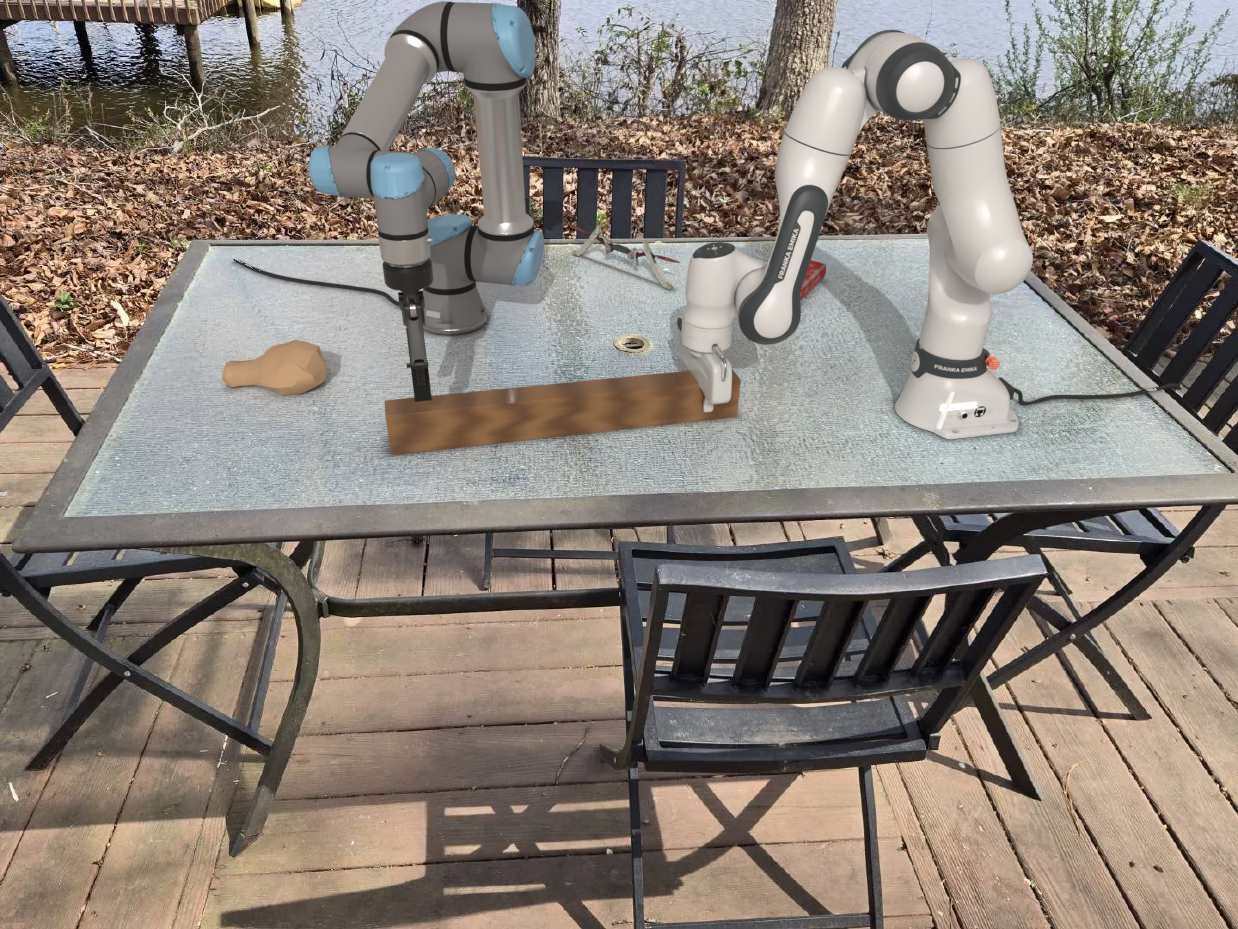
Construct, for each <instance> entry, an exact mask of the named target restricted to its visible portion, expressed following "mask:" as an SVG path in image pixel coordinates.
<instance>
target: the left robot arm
mask: <svg viewBox="0 0 1238 929" xmlns="http://www.w3.org/2000/svg"><path fill="white" fill-rule="evenodd" d="M531 24H532V23H531V21H530V19H529V18H528V16H527V13H526V12H525V11H524V10H523V9H522V8H520V7H519V6H516V5H509V4H502V3H500V2H465V1H463V2H461V1H458V2H457V1H455V2H454V1H448V0H447V1H445V0H444V1H443V0H442V1H437V2H433V3H430V4H427V5H425V6H423V7H421V8H420V9H419V8H418V9H417V10H416V11H414V12H413V13H411V14H410V15H409V16H407V17H406V18H405V19H404V20H403V21H402V22H401V23H400V24H399V25H397V27H396V28H395V29H394V30H393V32H392V33H391V35H390V36H389V38H388V40H387V42H386V43H385V46H384V60H383V61H382V63H381V65H380V67H379V69H378V70H377V72H376V73H375V75H374V78H372V81H371V82H370V84H369V86H368V88H367V90H366V91H365V93H364V94H363V96H362V99H361V100H360V102H359V104H358V105H357V107H356V109H355V111H354V113H353V114H352V116H351V118H350V119H349V121H348V123H347V125H346V127H345V129H344V130H343V132H342V134H341V136H340V137H339V139H338V140H337V143H335V145H333V146H332V145H331V144H327V145H319V146H317V147H315V148H314V149H313V150H312V152H311V154H310V156H309V160H308V173H309V178H310V180H311V182H312V187H313V188H315V190H316V191H317V192H318V193H321V194H323V195H329V196H336V197H339V198H353V199H354V198H355V199H371V200H373V203H374V209H375V216H376V223H377V237H378V244H379V252H380V253H379V254H380V258H381V260H382V261H383V262H382V272H383V273H382V274H383V280H384V285H385V286H386V287H387V288H389V289H391V290H392V291H396V292H397V291H398V292H397V296H398V300H397V299H396V300H395V299H394V298H393V297H392V296H391V295H390V294H388V293H387V292H385V291H382V290H381V289H380V290H379V289H377V288H371V287H363V286H355V285H349V284H343V283H342V284H341V283H333V282H332V283H331V282H325V281H318V280H311V279H304V278H297V277H292V276H286V275H281V274H277V273H274V272H269V271H267V270H263V269H261V268H257V267H256V266H253V265H250V266H251V267H252V266H253V267H252V268H251V267H249V266H247V265H245V264H247V263H246V262H244V261H242V260H240V261H241V262H243V263H241V262H239V261H237V260H235V259H234V258H233V259H232V260H233V262H235V263H237V264H238V265H240V266H242V267H244V268H246V269H248V270H251V271H253V272H255V273H258V274H261V275H263V276H266V277H271V278H274V279H279V280H282V281H289V282H294V283H299V284H306V285H307V284H308V285H312V286H313V285H315V286H321V287H328V288H335V289H336V288H337V289H343V290H344V289H345V290H352V291H358V292H359V291H360V292H366V293H372V294H376V295H380V296H383V297H385V298H386V299H387V300H388V301H389V302H390V303H392V304H393V305H395V306H398V307H399V310H400V311H401V317H402V325H403V326H404V327H405V332H406V340H407V347H408V348H407V349H408V354H409V355H408V356H409V362H406V363H405V364H406V369H410V374H411V380H412V390H413V398H414V399H415V402H420V401H430V400H432V397H431V396H432V390H431V388H432V387H431V380H430V371H429V361H428V358H427V349H426V339H425V332H427V333H430V334H433V335H440V336H459V335H465V334H469V333H473V332H476V331H477V330H480V329H481V328H483V327H484V326H485V325H486V323H487V320H488V316H487V310H486V306H485V304H484V302H483V299H482V298H481V295H480V293H479V291H478V288H477V283H486V284H495V285H505V286H511V287H517V286H519V287H528V286H531V285H533V284H534V283H535V281H536V280H537V278H538V275H539V273H540V270H541V266H542V262H543V258H544V250H545V237H544V233H543V232H542V231H539V230H538V229H537V230H535V222H534V218H533V217H532V216H530V215H529V214H528V213H527V207H526V194H525V193H526V192H525V191H526V190H525V172H524V158H523V141H522V124H521V122H522V120H521V106H520V93H521V92H522V90H524V88H526V86H527V78H528V77H531V76H532V75H533V74H534V71H535V66H536V42H535V36H534V32H533V28H532V25H531ZM442 72H443V73H444V72H451V73H461V74H462V75H463V85H464V87H465V88H466V89H467V90H468V91H469V92H470V94H472V95H473V105H474V117H475V118H474V119H475V126H476V127H475V128H476V136H477V137H476V138H477V139H476V140H477V150H478V162H479V171H480V182H481V184H480V185H481V196H482V205H483V215H482V216H481V217H480V218H479V219H478V220H477V225H473V224H474V221H473V220H472V218H471V216H469V215H466V214H461V213H452V214H443V215H438V216H435V217H432V218H430V219H429V218H428V209H429V208H430V207H431V206H432V205H434V204H435V203H437V202H438V201H439V200H440V199H442V198H444V197H445V196H446V195H447V194H448V193H449V191H450V190H451V189H452V188H453V186H454V184H455V182H456V174H457V172H456V168H455V165H454V162H453V160H452V159H451V158H450V156H449V155H448V154H447V153H446V152H444V151H443V150H441V149H439V148H437V147H426V148H422V149H418V150H417V151H416V152H405V151H392V150H390V149H391V148H392V146H393V144H394V142H395V140H396V139H397V136H398V135H399V132H400V130H401V128H402V127H403V125H404V123H405V121H406V119H407V117H408V115H409V113H410V112H411V109H412V108H413V105H414V103H415V102H416V101H417V100H416V99H417V98H418V96H419V94H420V92H421V90H422V88H423V86H424V85H425V84H428V83H430V82H431V81H432V80H433V79H434V78H435V76H436V74H438V73H442ZM259 270H260V271H259Z"/></svg>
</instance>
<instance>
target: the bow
mask: <svg viewBox="0 0 1238 929" xmlns="http://www.w3.org/2000/svg"><path fill="white" fill-rule="evenodd" d="M567 225H568V226H569V227H571V228H573V229H575V230H577V231H579V232H581V233H583V234H585V235H586V234H587V235H589V238H588V239H587V240H586V241H584V243H583V244H581V246H580V248H578V250H577V249H575V250H572V252H571V253H572V254H573V255H574V256H577V257H578V256H579V257H583V258H585V259H588V260H591V261H594V262H596V263H599V264H601V265H605V266H607V267H610V268H613V269H615V270H619V271H621V272H623V273H626V274H629V275H632V276H635V277H637V278H640V279H642V280H645V281H648V282H651V283H654V284H657V285H659V286H662V287H663V288H665V289H667V290H671V289H673V288H674V285H673V284H671V283H670V282H669V281H668V280H667V279H666V276H665V274H664V272H663V270H662V268H661V267H660V265H659V263H658V262H657V260H656V259H659V260H662V261H665V262H669V263H676V264H681V261H679V260H677V259H674V258H670V257H667V256H663V255H660V254H654V252H653V249H652V248H651V246H650V244H649V241H648V240H647V239H645V240H643V241H642V242H643V243H642V244H643V245H642V247H643V248H637V247H636V246H635V247H633V248H629V247H628V246H625V245H622V244H619V243H614V239H608V238H607V237H606V236H604V235H602V234H601V233H602V225H601V224H598V225H596V227H595V229H594V230H593V231H592V232H589V231H588V230H586V229H584V228H581V227H580V226H577V225H574V224H570V223H567ZM597 241H598V242H600V244H602V245H603V246H604V250H603V256H608V255H609V254H610V253H614V251H615V252H619V253H621V254H624V255H627V259H628V260H630V261H633V262H632V263H633V267H638V266H640V264H639V262H640V261H639V258H640V257H641V258H642V257H646V259H647V261H648V262H649V264H650V266H651V268H652V271H653V273H654V274H655V276H656V278H657V280H658V282H659V283H658V282H656V281H653V280H650V279H647V278H645V277H643V276H642V277H641V276H640V275H637V274H633V273H631V272H628V271H626V270H623V269H620V268H618V267H615V266H612V265H609V264H607V263H603V262H601V261H598V260H595V259H593V258H590V257H587V256H584V254H585V253H587V251H588V250H589V249H590V248H591V247H592V245H593V244H595V243H596V242H597Z"/></svg>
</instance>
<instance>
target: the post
mask: <svg viewBox="0 0 1238 929" xmlns="http://www.w3.org/2000/svg"><path fill="white" fill-rule="evenodd" d="M741 383H742V379H741V378H740V377H739V375H738V374H737V373H736V372H735V370H734V368H732V390H731V399H730V400H729V402H728V403H722V404H714V406H713V411H711V412H704V410H703V409H702V400H704V399H705V396H704V393H703V391H702V390H701V388H700V387H699V384H698V382H697V381H696V379H695V378H694V376H693V375H692V373H691V372H690V371H689V370H681V371H672V372H663V373H662V372H661V373H651V374H640V375H629V376H620V377H611V378H610V377H609V378H602V379H601V378H600V379H592V380H580V381H570V382H560V383H548V384H538V385H528V386H518V387H509V388H508V387H507V388H498V389H488V390H478V391H466V392H457V393H448V394H447V393H446V394H435V395H431V397H432V400H430V401H420V402H415V399H414V397H405V398H404V397H403V398H395V399H386V400H384V401H383V402H384V417H385V423H386V430H387V438H388V445H389V451H390V456H397V455H406V454H416V453H423V452H424V453H425V452H433V451H442V450H451V449H460V448H469V447H478V446H486V445H495V444H497V445H498V444H506V443H514V442H521V441H522V442H523V441H532V440H533V441H534V440H540V439H549V438H559V437H567V436H568V437H569V436H579V435H586V434H594V433H595V434H596V433H603V432H612V431H623V430H631V429H639V428H650V427H658V426H666V425H676V424H677V425H678V424H686V423H694V422H703V421H713V420H721V419H722V420H723V419H729V418H730V419H732V418H737V417H738V410H739V409H738V408H739V399H740V392H741Z"/></svg>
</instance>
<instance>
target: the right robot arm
mask: <svg viewBox="0 0 1238 929" xmlns="http://www.w3.org/2000/svg"><path fill="white" fill-rule="evenodd" d="M878 112H883V113H885V114H886V115H887V116H889V117H890V118H893V119H895V120H899V121H905V122H912V121H913V122H914V121H920V120H921V121H922V123H923V125H924V126H923V127H924V136H925V143H926V144H925V145H926V151H927V157H928V162H929V168H930V169H929V170H930V177H931V183H932V189H933V193H934V194H935V197H936V198H937V201H938V203H939V205H937V206H936V208H934V210H933V211H932V212H931V214H930V216H929V218H928V220H927V224H926V235H927V240H928V246H929V262H928V263H929V264H928V294H927V302H926V309H925V313H924V318H923V321H922V327H921V331H920V335H919V338H918V339H917V340H916V342H915V345H914V350H913V353H912V356H911V362H910V371H909V375H908V377H907V380H906V382H905V384H904V387H903V389H902V391H901V393H900V395H899V397H898V398H897V400H896V402H895V403H894V411H895V413H896V415H898V417H900V419H902V420H903V421H905V422H906V423H908V424H909V425H911V426H913V427H916V428H919V429H921V430H924V431H929V432H931V433H934V434H936V435H937V436H939V437H941V438H943V439H946V440H956V439H957V440H958V439H967V438H974V437H982V436H983V437H984V436H992V435H1001V434H1002V435H1003V434H1009V433H1016V432H1018V430H1019V425H1020V421H1019V419H1018V415H1017V413H1016V412H1015V411H1014V409H1013V408H1012V407H1011V401H1013V400H1014V396H1015V394H1016V395H1017V396H1018V403H1019V404H1020V405H1022V406H1030V405H1031V406H1032V405H1036V404H1041V403H1043V402H1046V401H1050V400H1063V399H1064V400H1101V399H1103V400H1104V399H1120V398H1129V397H1134V396H1139V395H1144V394H1149V393H1150V392H1149V391H1147V390H1146V388H1145V389H1140V390H1137V391H1131V392H1124V393H1123V392H1121V393H1110V394H1109V393H1108V394H1051V395H1046V396H1043V397H1041V398H1038V399H1035V400H1031V401H1026V400H1024V395H1023V392H1022V391H1021V390H1020V389H1019V388H1016V387H1014V386H1013V385H1012V384H1010V382H1008V381H1007V380H1006V379H1005V378H1003V377H998V376H996V375H995V374H994V373H993V372H992V371H995V370H998V369H999V368H1000V366H1001V361H999V359H998V358H997V357H996V356H994V355H991V353H990V352H989V351H988V350H987V349H986V348H985V347H984V346H985V342H986V338H987V335H988V332H989V328H990V324H991V321H992V318H993V303H992V301H991V295H1002V294H1007V293H1008V292H1011V291H1014V290H1015V289H1016V288H1017V287H1019V286H1021V284H1022V283H1023V282H1024V281H1025V280H1026V279H1027V277H1028V276H1029V274H1030V272H1031V270H1032V267H1033V263H1034V255H1033V252H1032V249H1031V247H1030V245H1029V243H1028V241H1027V239H1026V236H1025V234H1024V231H1023V228H1022V224H1021V221H1020V216H1019V213H1018V210H1017V206H1016V202H1015V199H1014V196H1013V193H1012V190H1011V186H1010V184H1009V179H1008V175H1007V171H1006V163H1005V156H1004V155H1005V153H1004V146H1003V137H1002V127H1001V126H1002V125H1001V119H1000V111H999V106H998V100H997V96H996V91H995V88H994V85H993V82H992V79H991V76H990V73H989V70H988V68H987V67H986V65H984V63H982V62H981V61H979V60H976V59H972V58H957V59H953V60H949V58H948V57H947V56H946V55H945V54H944V53H943V51H941V50H940V49H939V48H938V47H937V46H935V45H933V44H931V43H930V42H928V41H927V40H925V39H923V38H922V37H921V36H919V35H915V34H911V33H906V32H904V31H902V30H899V29H885V30H881V31H878V32H875V33H873V34H871V35H870V36H868V37H867V38H866V39H865V40H864V41H863V42H861V44H859V46H858V47H857V49H856V50H855V51H854V52H853V53H852V54H851V55H850V56H849V57H848V58H847V59H846V60H844V62H843V63H842V65H841V67H839V66H831V67H829V66H827V67H824V68H821V69H818V70H817V71H816V72H814V73H813V74H812V75H811V76H810V77H809V80H808V82H807V83H806V85H805V87H804V88H803V90H802V92H801V94H800V96H799V98H798V99H797V102H796V104H795V105H794V108H793V109H792V112H791V114H790V117H789V119H788V121H787V125H786V127H785V130H784V133H783V135H782V137H781V142H780V145H779V146H778V150H777V151H778V152H777V157H776V162H775V168H774V181H775V182H774V183H775V187H776V193H777V198H778V208H779V222H778V229H777V234H776V237H775V240H774V243H773V246H772V249H771V252H770V255H769V258H768V260H761V259H758V258H755V257H752V256H750V255H748V254H746V253H744V252H742V251H741V250H739V249H738V248H737V247H736V246H735V244H732V243H730V242H723V241H716V242H715V241H713V242H709V243H706V244H703V245H702V246H700V247H698V248H696V249H695V251H694V252H692V255H691V257H690V258H689V259H690V260H689V263H688V267H687V274H686V281H685V290H684V291H685V292H684V293H685V294H684V295H685V300H686V306H685V310H684V312H683V314H678V315H676V318H675V319H676V320H675V321H676V322H675V324H676V326H677V328H678V330H677V352H678V356H679V359H680V360H681V361H682V363H683V364H684V366H685V368H686V369H687V371H690V372H691V373H692V375H693V376H694V378H695V379H696V381H697V382H698V384H699V387H700V388H701V390H702V391H703V393H704V396H705V399H704V400H702V409H703V410H704V412H711V411H713V406H714V404H722V403H728V402H729V400H730V399H731V390H732V369H733V368H732V364H731V362H730V360H729V359H728V358H727V356H726V354H725V353H724V351H726V350H727V349H729V348H730V347H731V345H732V337H733V328H734V319H735V318H738V326H739V329H740V331H741V333H742V335H743V336H744V337H745V338H746V339H748V340H749V341H750V342H753V343H755V344H757V345H764V346H767V345H768V346H770V345H776V344H780V343H781V342H784V341H786V340H787V339H789V338H790V337H791V336H792V335H794V333H795V332H796V330H797V329H798V327H799V325H800V322H801V318H802V308H801V306H802V305H801V300H800V294H801V288H802V285H803V282H804V279H805V276H806V273H807V270H808V267H809V264H810V261H811V260H812V258H813V255H814V252H815V249H816V246H817V243H818V240H819V236H820V234H821V231H822V227H823V224H824V221H825V218H826V216H827V214H828V212H829V208H830V206H831V203H832V200H833V198H834V195H835V194H836V191H837V189H838V186H839V184H840V182H841V179H842V176H843V175H844V172H845V169H846V167H847V165H848V162H849V160H850V158H851V154H852V152H853V149H854V148H855V144H856V141H857V139H858V135H859V133H860V132H861V131H862V129H863V127H864V126H865V125H866V123H867V122H868V121H869V120H870V119H871V118H872V117H873V116H874V115H876V114H877V113H878ZM1152 388H1153V389H1154V388H1156V389H1157V391H1156V392H1159V391H1162V390H1163V391H1164V390H1166V389H1170V388H1175V389H1176V390H1177V391H1182V387H1181V386H1180V384H1178V383H1175V382H1172V383H1167V384H1163V385H1160V386H1155V387H1152Z"/></svg>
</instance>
